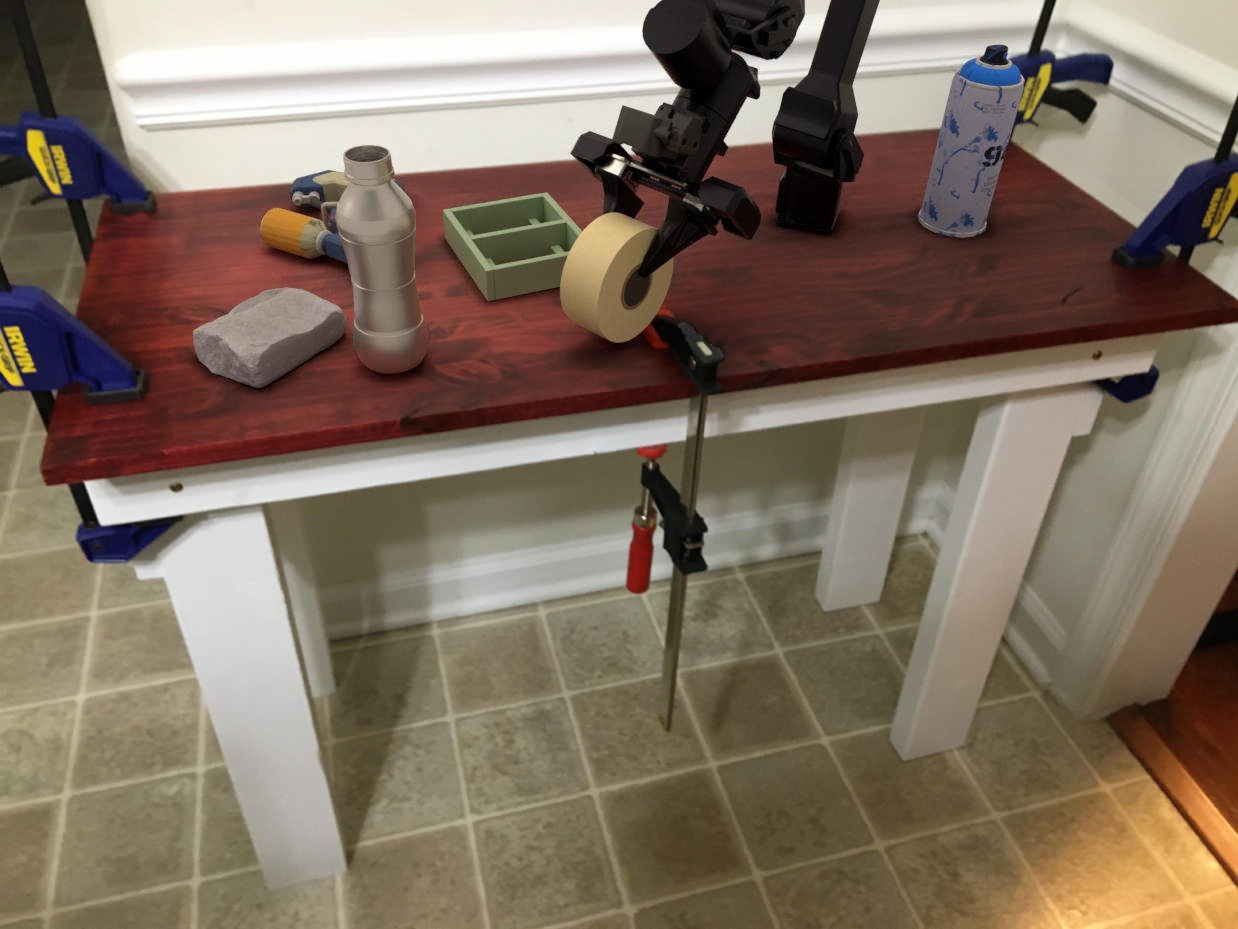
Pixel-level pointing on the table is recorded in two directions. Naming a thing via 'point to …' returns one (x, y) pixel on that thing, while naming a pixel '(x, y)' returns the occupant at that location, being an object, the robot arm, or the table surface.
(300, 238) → the spray gun
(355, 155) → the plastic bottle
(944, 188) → the aerosol can
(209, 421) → the table surface
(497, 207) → the green divided tray
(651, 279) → the masking tape roll
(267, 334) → the stone block
